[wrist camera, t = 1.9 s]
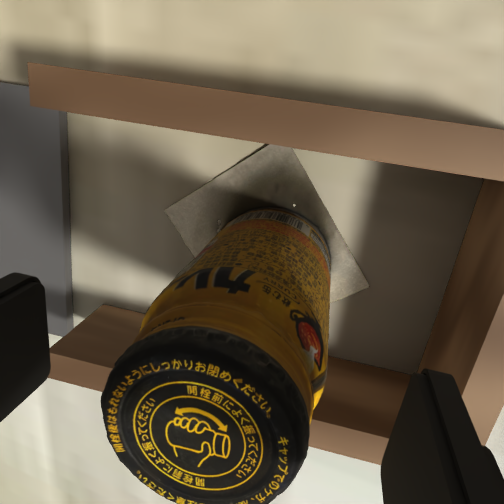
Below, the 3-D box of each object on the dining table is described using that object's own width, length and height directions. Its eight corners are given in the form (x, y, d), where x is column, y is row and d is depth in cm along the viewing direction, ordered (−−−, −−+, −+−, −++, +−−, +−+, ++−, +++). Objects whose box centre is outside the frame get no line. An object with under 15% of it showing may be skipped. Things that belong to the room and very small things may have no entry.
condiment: (248, 338, 22) (163, 564, 11) (165, 209, 20) (-35, 322, 9) (369, 284, 20) (416, 505, 9) (285, 134, 18) (209, 166, 7)
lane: (436, 405, 21) (465, 487, 16) (103, 326, 24) (47, 377, 19) (539, 137, 16) (622, 146, 11) (103, 75, 19) (27, 61, 14)
